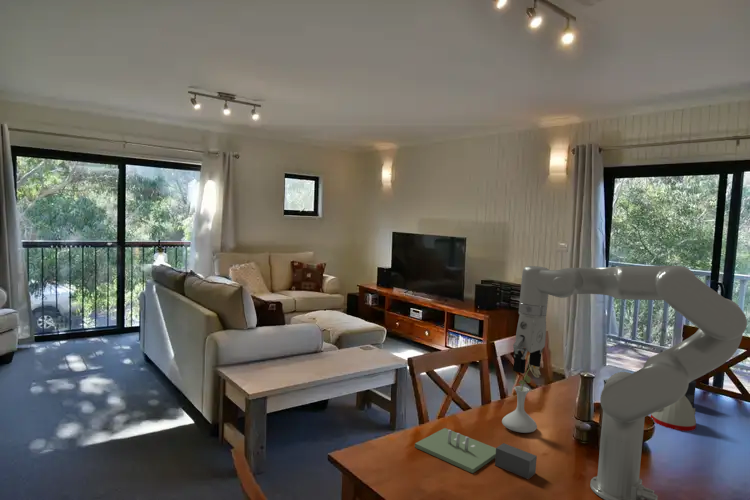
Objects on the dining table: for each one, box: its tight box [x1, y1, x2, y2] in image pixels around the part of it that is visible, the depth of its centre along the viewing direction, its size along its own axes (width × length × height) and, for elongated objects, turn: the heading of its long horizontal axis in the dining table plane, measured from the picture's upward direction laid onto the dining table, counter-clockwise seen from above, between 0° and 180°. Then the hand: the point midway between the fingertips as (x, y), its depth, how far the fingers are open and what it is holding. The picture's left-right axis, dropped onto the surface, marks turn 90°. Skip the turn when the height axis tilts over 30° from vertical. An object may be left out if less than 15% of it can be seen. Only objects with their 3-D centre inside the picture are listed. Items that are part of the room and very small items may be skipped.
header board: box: [414, 427, 497, 474], centre depth 142 cm, size 20×16×5 cm
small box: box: [684, 380, 697, 408], centre depth 191 cm, size 11×6×10 cm, turn 25°
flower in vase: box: [501, 354, 542, 434], centre depth 159 cm, size 13×11×25 cm
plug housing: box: [494, 442, 538, 480], centre depth 133 cm, size 10×4×5 cm, turn 48°
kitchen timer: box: [650, 396, 697, 432], centre depth 171 cm, size 14×14×15 cm
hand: (526, 368), depth 135 cm, fingers open, 9 cm apart
